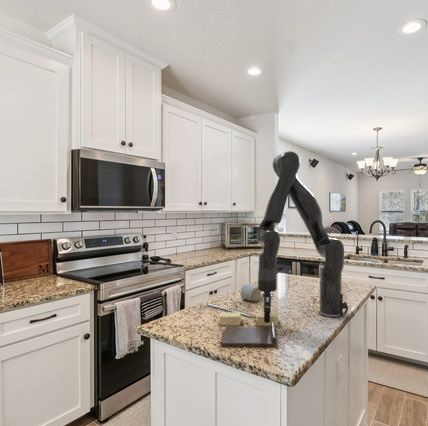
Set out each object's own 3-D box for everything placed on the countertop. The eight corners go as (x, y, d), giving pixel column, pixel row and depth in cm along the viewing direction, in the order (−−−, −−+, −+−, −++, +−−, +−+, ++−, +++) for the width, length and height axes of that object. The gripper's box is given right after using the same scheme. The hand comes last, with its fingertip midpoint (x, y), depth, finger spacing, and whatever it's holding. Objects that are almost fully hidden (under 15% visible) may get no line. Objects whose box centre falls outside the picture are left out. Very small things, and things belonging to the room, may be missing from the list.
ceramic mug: (252, 303, 147) (252, 287, 147) (240, 300, 152) (240, 285, 152) (265, 299, 155) (265, 284, 155) (253, 296, 160) (253, 281, 160)
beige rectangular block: (277, 321, 124) (277, 312, 124) (278, 325, 119) (278, 316, 119) (257, 321, 124) (257, 312, 124) (257, 325, 119) (257, 316, 119)
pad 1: (240, 320, 124) (240, 312, 124) (240, 325, 119) (240, 316, 119) (221, 320, 124) (221, 312, 124) (219, 325, 119) (219, 316, 119)
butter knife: (211, 302, 146) (206, 303, 144) (254, 315, 129) (250, 316, 127) (210, 303, 146) (206, 305, 144) (254, 316, 129) (250, 318, 127)
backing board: (273, 330, 114) (273, 321, 114) (275, 347, 100) (275, 337, 100) (226, 330, 114) (226, 321, 114) (221, 346, 100) (221, 337, 100)
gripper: (277, 282, 114) (277, 325, 114) (275, 274, 128) (275, 312, 128) (257, 282, 114) (257, 324, 114) (258, 274, 128) (257, 312, 128)
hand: (266, 318), depth 121 cm, fingers open, 8 cm apart
